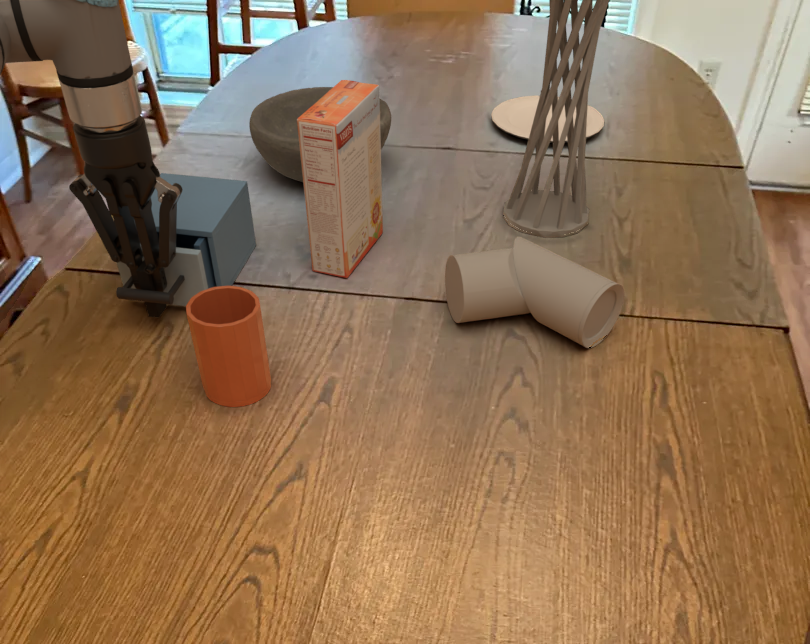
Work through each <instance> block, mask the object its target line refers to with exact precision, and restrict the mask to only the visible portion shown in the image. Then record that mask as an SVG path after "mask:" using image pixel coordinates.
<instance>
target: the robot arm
mask: <svg viewBox="0 0 810 644" xmlns="http://www.w3.org/2000/svg"><path fill="white" fill-rule="evenodd" d="M126 35H127V34H126V30H125V26H124V21H123V16H122V12H121V7H120V2H119V0H0V76H1V75H2V73H3V70H4V68H5V66H6V64H12V63H13V64H14V63H29V62H30V63H31V62H33V63H34V62H43V61H52V63H53V65H54V67H55V71H56V74H57V78H58V82H59V85H60V88H61V93H62V96H63V99H64V102H65V106H66V109H67V114H68V116H69V120H70V121H71V122H72V123H74V124H73V127H72V130H73V133H74V136H75V140H76V143H77V147H78V150H79V154H80V157H81V159H82V160H83V161H84V166H83V174H82V173H81V174H79V175H78V176H77V177H76V178H74V180H72V182H71V183H70V184H69V186H68V188H69V191H70V192H71V193H72V194H73V196H74V197H75V198H76V199H77V200H78V201H79V203H81V205H82V206H83V208H84V210H85V212H86V214H87V216H88V217H89V219H90V221H91V223H92V225H93V227H94V229H95V231H96V233H97V235H98V237H99V239H100V240H101V242H102V245H103V246H104V248H105V250H106V252H107V253H108V256H109V257H110V259H111V261H112V262H113V263H116V264H117V263H118V262H122V263H125V264H126V265H127V266H128V267H129V269H130V272H131V276H132V279H133V283H134V286H135V288H136V289H141V290H150V291H159V292H163V291H164V290H165V288H166V287H167V280H166V275H165V271H164V267H165V268H166V267H168V266H169V264H170V263H171V262H172V260H173V259H174V257H175V256H176V227H177V202H178V200H179V197H180V195H181V193H182V190H183V189H182V187H181V185H180V184H178V183H174V184H173V185H171V184H170V183H168V182H167V181H165V180H164V179H162V178H161V177H160V174H161V173H160V170H159V169H158V167H157V166H156V164H155V163H154V161H153V153H152V145H151V142H150V136H149V133H148V127H147V123H146V120H145V118H144V117H143V116H142V112H143V107H142V102H141V98H140V94H139V90H138V86H137V81H136V77H135V76H136V75H135V71H134V68H133V63H132V58H131V53H130V49H129V44H128V40H127V36H126ZM155 188H156V190H157V192H158V201H159V202H160V203H161V205H160V209H159V238H158V234H157V230H156V226H155V222H154V218H153V214H152V209H151V207H152V201H151V196H152V194H153V192H154V190H155ZM105 201H106V202H105ZM134 221H135V222H134ZM135 225H136V226H135ZM136 229H137V230H136ZM138 236H139V237H138ZM139 240H140V241H139ZM140 244H141V245H140ZM141 248H142V249H141ZM143 257H144V261H142V258H143ZM144 305H145V310H146V313H147V317H148V318H155V319H160V318H161V316H162V315H163V314H164V312H165V310H167V307H168V304H161V303H152V302H144Z"/></svg>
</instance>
